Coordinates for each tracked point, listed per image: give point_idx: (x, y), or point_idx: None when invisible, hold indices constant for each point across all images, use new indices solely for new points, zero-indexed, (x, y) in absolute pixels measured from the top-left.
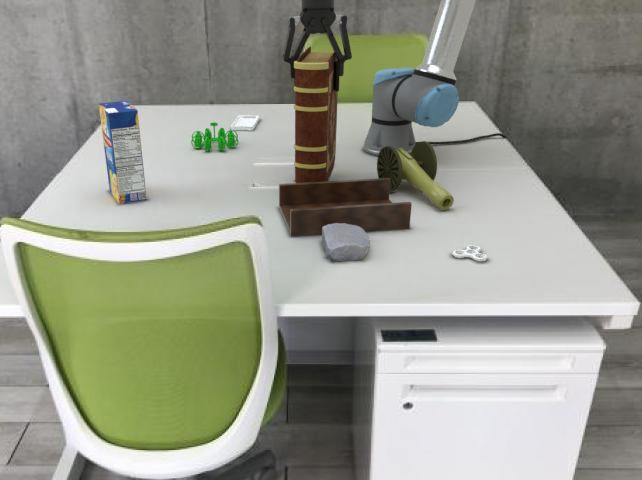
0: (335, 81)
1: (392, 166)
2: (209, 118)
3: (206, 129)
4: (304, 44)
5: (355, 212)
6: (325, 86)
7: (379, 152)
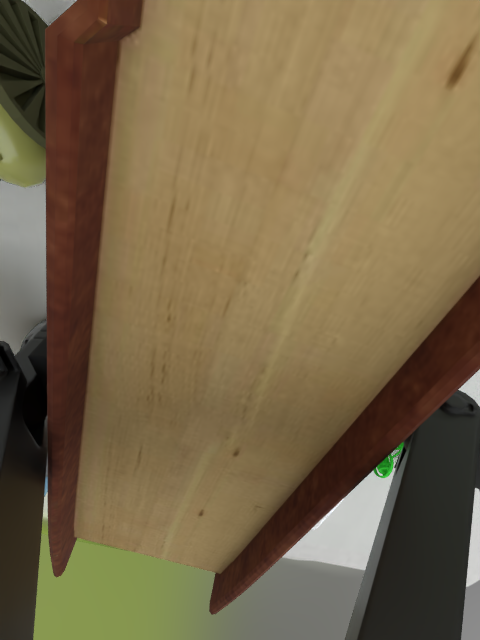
0: None
1: (21, 49)
2: (359, 533)
3: None
4: (376, 585)
5: None
6: None
7: None
